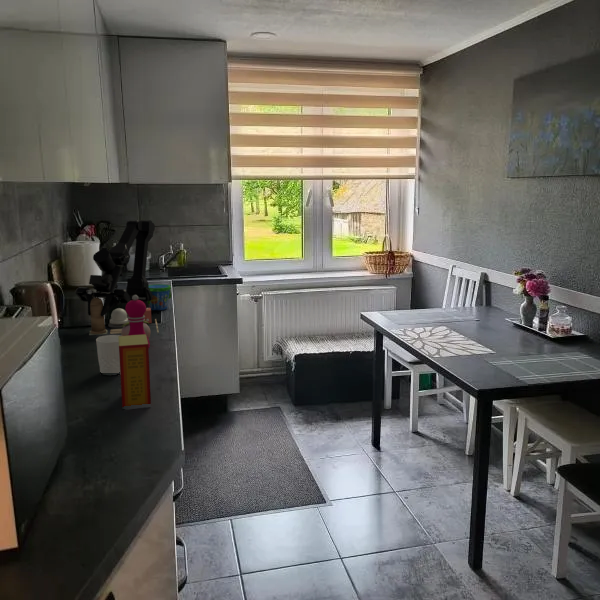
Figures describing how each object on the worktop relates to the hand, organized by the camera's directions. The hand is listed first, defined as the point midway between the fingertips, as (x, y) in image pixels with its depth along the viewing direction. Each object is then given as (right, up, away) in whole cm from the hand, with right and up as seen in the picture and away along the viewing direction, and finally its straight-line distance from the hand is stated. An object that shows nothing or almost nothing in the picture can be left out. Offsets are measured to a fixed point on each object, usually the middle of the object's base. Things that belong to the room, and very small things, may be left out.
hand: (95, 315), depth 188 cm
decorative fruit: (+18, -11, -12) cm, 24 cm away
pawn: (0, -6, +3) cm, 7 cm away
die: (+12, -3, +19) cm, 22 cm away
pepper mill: (+22, -13, -23) cm, 35 cm away
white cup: (+19, -15, -36) cm, 43 cm away
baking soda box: (+31, -20, -56) cm, 67 cm away
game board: (+6, -6, +11) cm, 14 cm away
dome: (+4, -3, +13) cm, 14 cm away
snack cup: (+10, +1, +46) cm, 47 cm away
